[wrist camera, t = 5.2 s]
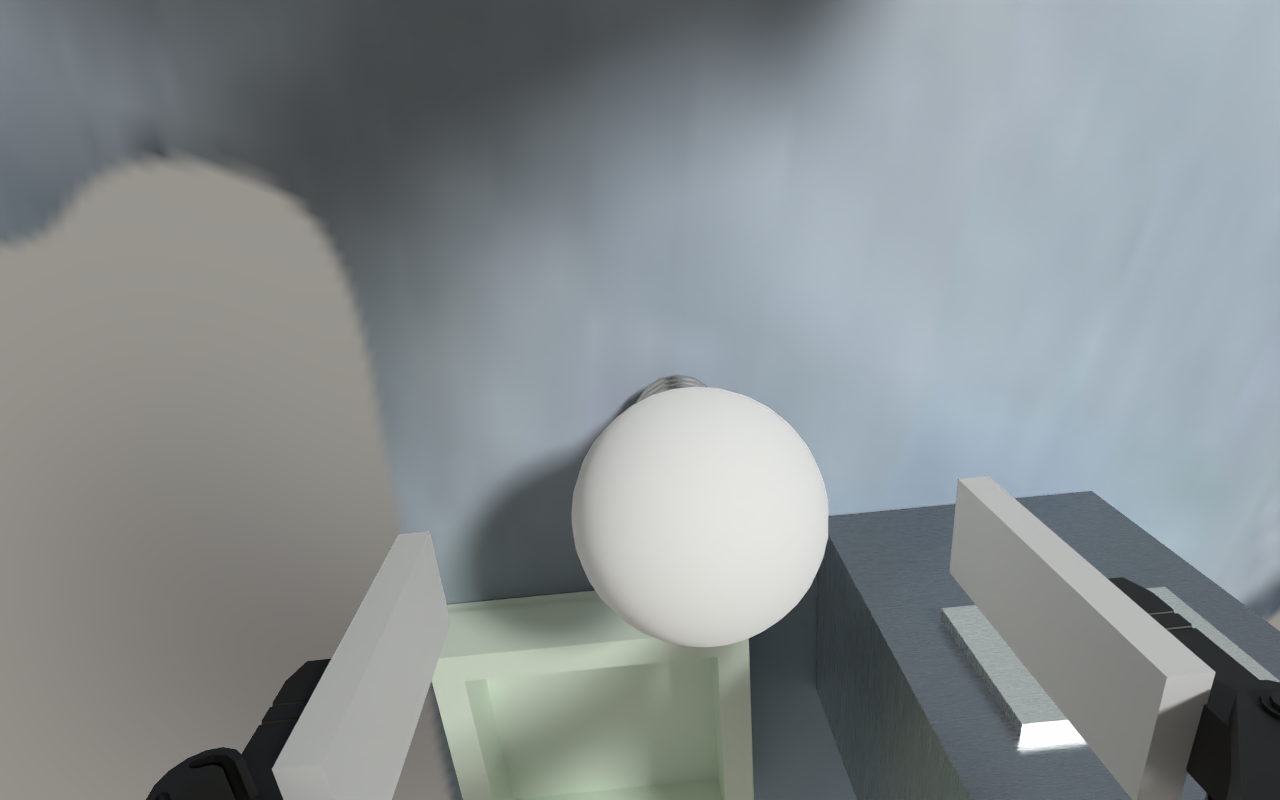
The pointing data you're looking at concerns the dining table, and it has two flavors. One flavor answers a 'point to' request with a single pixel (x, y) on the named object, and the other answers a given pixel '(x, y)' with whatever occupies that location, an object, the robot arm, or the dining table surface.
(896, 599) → the housing
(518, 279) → the dining table surface
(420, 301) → the dining table surface
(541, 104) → the dining table surface
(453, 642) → the tray
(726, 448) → the light bulb
